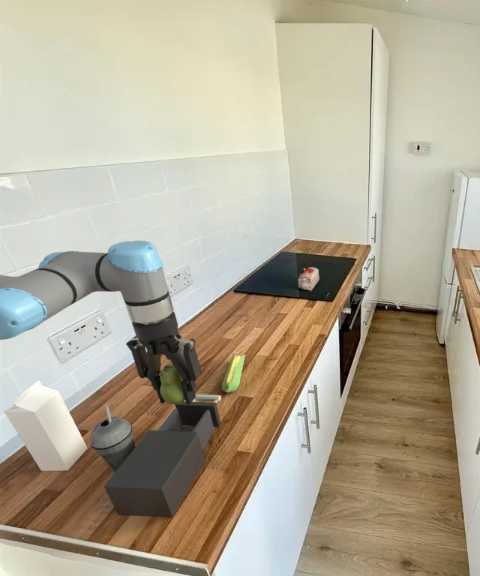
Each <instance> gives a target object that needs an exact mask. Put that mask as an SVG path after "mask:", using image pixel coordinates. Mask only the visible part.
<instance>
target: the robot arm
mask: <svg viewBox="0 0 480 576" xmlns="http://www.w3.org/2000/svg"><path fill="white" fill-rule="evenodd" d="M96 292H103V293H104V292H105V293H107V292H109V293H112V292H113V293H116V292H120V294H121V296H122V299H123V301H124V305H125V307H126V308H125V309H126V311H127V314H128V317H129V320H130V321H131V325H132V328H133V331H134V334H135V336H133V337H132V338H131V339H130V340H128V341H127V342H126V343H125V345H126V346H127V348H128V349H129V351H131V356H132V358H133V361H134V364H135V368H136V371H137V374H138V377H139V378H140V379H145V378H146V379H148V381H150V383H151V386H152V389H153V390H154V391H156V393H157V396H158V400H159V402H160V404H165V403H167V402H166V401H165V400H164V399H163V397H162V396H161V392H160V387H161V380H160V374H161V371H162V369H161V364H162V361H161V360H162V355H163V356H165V358H166V359H167V360H168V361H170V362H171V363H172V365H174V367H175V368H176V370H177V371H178V373H179V374H180V376H181V378H182V379H183V381H182V382H181V386H182V390H183V393H184V397H185V400H184V401H186V403H187V404H191V402H192V401H193V400H194V398H195V397H196V394H197V393H196V391H195V389H196V388H197V384H196V381H197V379H198V378H199V377H200V375H201V374H202V368H201V364H200V361H199V357H198V354H197V350H196V348H195V347H196V339H195V338H193V337H191V338H189V339H185V338H183V337H182V335H181V334H180V333H179V324H178V320H177V316H176V313H175V311H174V305H173V302H172V299H171V293H170V292H169V287H168V284H167V280H166V276H165V272H164V267H163V262H162V260H161V257H160V254H159V252H158V249H157V246H156V245H155V244H154V243H152V242H150V241H148V240H131V241H130V240H126V241H121V242H118V243H115V244H113V245H110V246H109V247H108V249H107V252H92V251H79V250H75V251H74V250H67V251H55V252H51V253H49V254H47V255H46V256H44V259H43V260H42V261H40V263H39V264H38V267H37V268H35V269H32V270H31V271H28V272H26V273H24V274H21V275H18V276H17V275H16V276H11V275H6V274H5V275H4V274H0V341H3V340H10V339H13V338H16V337H17V336H19V335H22V334H23V333H25V332H28V331H30V330H33V329H35V328H36V327H38V326H40V325H41V324H42V323H44V322H46V321H47V320H48V319H49V320H50V318H52V317H54V316H56V315H57V314H59V313H61V312H62V311H64V310H65V309H67V308H68V307H70V306H71V305H74V304H75V303H77V302H79V301H80V300H82V299H84V298H86V297H87V296H89V295H91V294H93V293H96Z"/></svg>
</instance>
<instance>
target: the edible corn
mask: <svg viewBox="0 0 480 576" xmlns="http://www.w3.org/2000/svg"><path fill="white" fill-rule="evenodd" d="M245 359H246V354H242V355H235V353H232V356H231V358H230V362H229V365H228V367H227V370H226V372H225V374H224V377H223V379H222V383H221V390H222V391H223V392H224V393H234V392H236V391H238V390H239V387H240V384H241V378H242V373H243V368H244V363H245Z"/></svg>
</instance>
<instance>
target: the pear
mask: <svg viewBox="0 0 480 576" xmlns="http://www.w3.org/2000/svg"><path fill="white" fill-rule="evenodd" d="M159 376H160V380H161V387H160V392H161V396H162V397H163V399H164V400H165V401H166V402H165V403H168V404H170V405H175V404H179V403H181V402H183V401H186V400H185V397H184V393H183V390H182V386H181V382H182V381H183V379H182V378H181V376H180V374H179V373H178V371H177V370H176V368H175V367H174V365H173V363H172V364H167V365H164V367H163V368H162V369H161V373H160V374H159Z"/></svg>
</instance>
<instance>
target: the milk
mask: <svg viewBox="0 0 480 576" xmlns="http://www.w3.org/2000/svg"><path fill="white" fill-rule="evenodd" d="M12 403H13V404H12V405H11V406H9V407H8V408H7V409H6V410H4V414H5V416H6V417H7V419H8V420H9V422H10V424H11V425H12V426H13V428H14V429H15V432H16V433H17V434H18V437H19V438H20V440H21V441H22V442H23V444H24V446H25V448H26V449H27V451H28V452H29V453H30V456H31V457H32V458H33V460H34V462H35V463H36V465H37V466H38V468H39V470H40V471H41V472H56V471H57V472H60V471H61V472H62V471H63V472H64V471H65V472H67V471H69V470H70V469H71V468H72V467H73V466H74V465H75V464H76V462H78V460H79V459H80V458H81V456H83V454H84V453H85V452H86V451H87V450H88V447H87V444H86V442H85V440H84V438H83V436H82V434H81V432H80V430H79V429H78V427H77V425H76V423H75V420H74V418H73V417H72V414H71V413H70V411H69V409H68V407H67V405H66V403H65V401H64V399H63V397H62V395H61V393H60V391H59V390H56V389H53V388H50V387H48V386H44V385H42V383H41V381H40V380H37V381H36V382H34V383H33V384H31V385H29V387H28V388H27V389H25V390H23V392H21V393H20V394H18V395H17V396H15V398H13V399H12Z"/></svg>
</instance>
